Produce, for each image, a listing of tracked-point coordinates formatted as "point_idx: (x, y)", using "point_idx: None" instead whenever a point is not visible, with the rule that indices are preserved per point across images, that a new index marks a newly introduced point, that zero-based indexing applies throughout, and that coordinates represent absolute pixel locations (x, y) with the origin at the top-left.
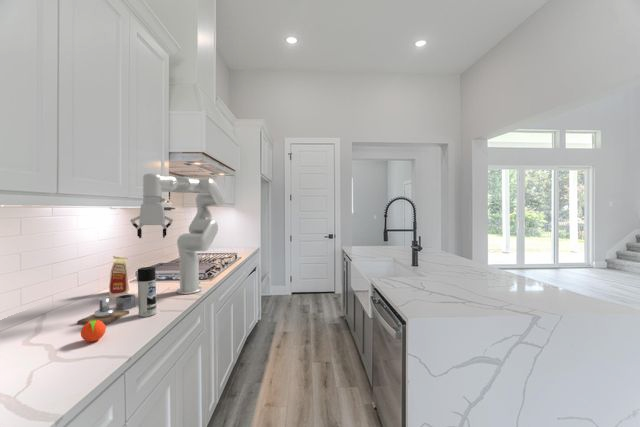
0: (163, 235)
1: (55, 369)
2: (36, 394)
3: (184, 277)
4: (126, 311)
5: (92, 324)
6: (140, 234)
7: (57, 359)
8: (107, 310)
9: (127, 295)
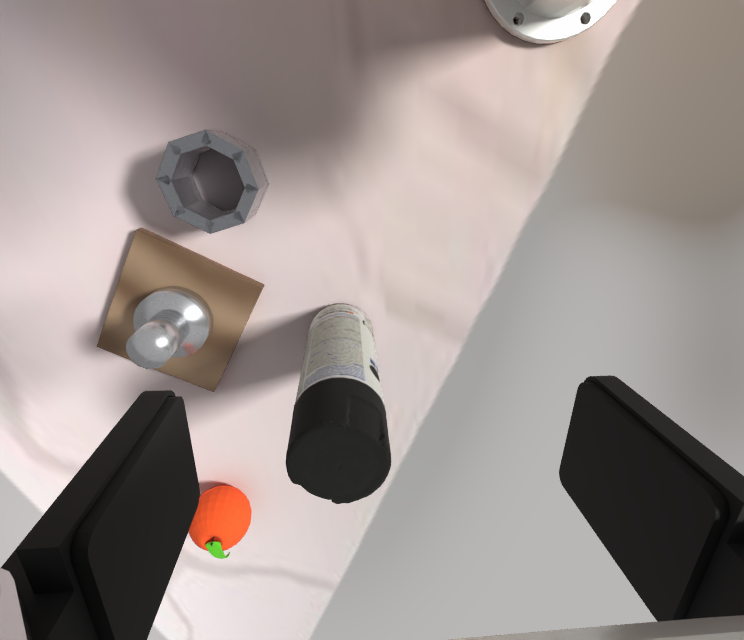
0: (586, 509)
1: (207, 595)
2: None
3: None
4: (254, 297)
5: (219, 556)
6: (172, 555)
7: (187, 560)
8: (185, 338)
9: (208, 145)
